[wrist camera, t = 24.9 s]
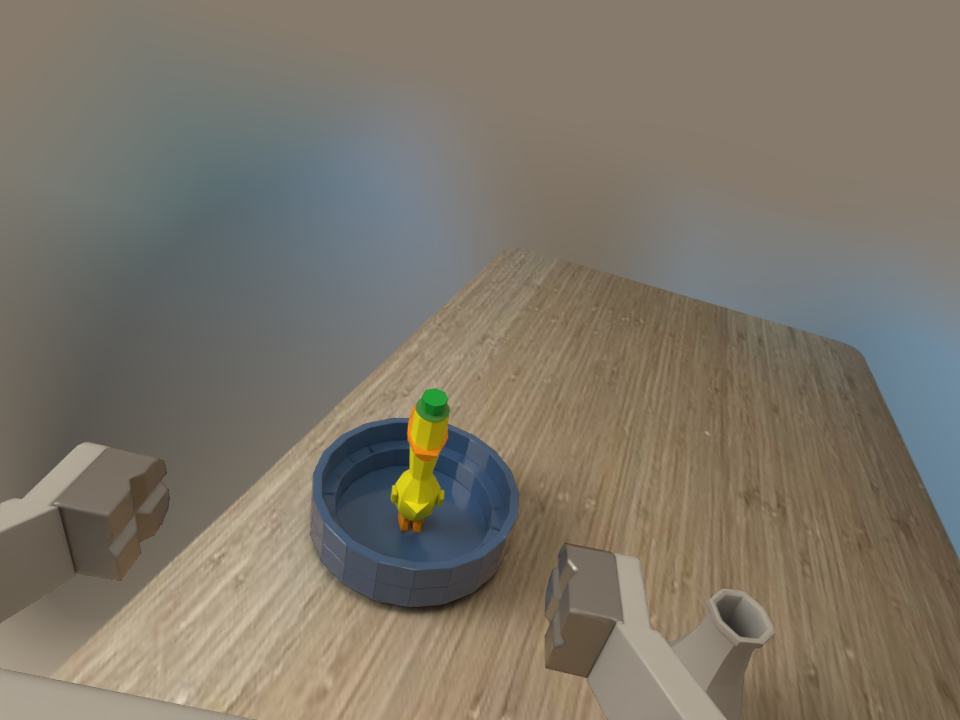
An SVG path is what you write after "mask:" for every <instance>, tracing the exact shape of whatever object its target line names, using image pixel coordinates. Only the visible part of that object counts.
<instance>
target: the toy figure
mask: <svg viewBox="0 0 960 720" xmlns="http://www.w3.org/2000/svg"><path fill="white" fill-rule="evenodd" d="M447 400H448V398H447V396H446V394H445V392H443V391H441V390H438V389H436V388H435V389H428V390H426V391H425V392H424V394H423V395H422V399H420V400H419V401H418V402H417V403H416V405H415V406H414V408H413V409H412V412H411V415H410V419H409V422H408V432H407V436H408V442H409V444H410V469H409V470H407V471H405V472H403V474H402V475H401V476H400V478H399V479H398V481H397V482H396V485H392V492H391V501H392V503H394V502H395V504H396V506H397V509H398V511H399V514H398V522H399V526H400V531H408V527H409V523H410V520H411V521H412V528H413V532H416V533H420V531H421V529H422V526H423V523H424V518H425V517H427V516H429V515H431V513H432V511H433V510H434V508H435V506H436V505H437V504H438V506H439V508H440V507H442V504H443V501H444V490H440V489H441V487H440V485H439V483H438V482H437V480H436V478H435V476H434V475H433V470H434V467H435V465H436V462H437V459H438V457H439V454H440V452H441V450H442V449H443V447H444V446H445V444H446V442H447V439H448V426H447V424H448V419H449V412H450V408H449V406H448V404H447Z"/></svg>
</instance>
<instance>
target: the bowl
mask: <svg viewBox="0 0 960 720" xmlns="http://www.w3.org/2000/svg"><path fill="white" fill-rule="evenodd" d="M409 419H410V418H390V419H385V420H380V421H375V422H370V423H366V424H363V425H361V426H359V427H357V428H355V429H353V430H351V431H349V432H347V433H345V434H343V435H341V436H340V437H339V438H338V439H337V440H336V441H335V442H333V443H332V444H331V445H330V446H329V447H328V448H327V449H326V450H325V451H324V452H323V454H322V456H321V458H320V460H319V462H318V464H317V466H316V468H315V470H314V473H313V482H312V499H311V530H310V535H311V538H312V540H313V543H314V545H315V548H316V550H317V552H318V555H319V557H320V560H321V561H322V563H323V564H324V565H325V566H326V567H327V568H328V569H329V570H330V571H331V572H332V573H333V574H334V575H335V576H336V577H337V578H338V580H339V581H340V582H341V583H342V584H344V585H345V586H347V587H349V588H351V589H353V590H355V591H357V592H358V593H360V594H362V595H364V596H366V597H368V598H370V599H372V600H373V599H374V600H375V601H380V602H385V603H390V604H394V605H399V606H404V607H420V606H432V605H443V604H446V603H449V602H451V601H454V600H456V599H459V598H461V597H464V596H466V595H469V594H471V593H473V592H474V591H476V590H477V589H478V588H479V587H480V586H481V585H482V584H484V583H485V582H486V581H487V580H488V579H489V578H491V577H492V576H493V575H494V574H495V573H496V571H497V569H498V567H499V565H500V563H501V561H502V559H503V557H504V555H505V553H506V551H507V548H508V545H509V542H510V538H511V535H512V532H513V529H514V526H515V523H516V520H517V517H518V501H519V492H518V489H517V486H516V484H515V481H514V478H513V475H512V472H511V470H510V469H509V468H508V466H507V465H506V464H505V462H504V461H503V460H502V459H501V457H500V456H499V455H498V454H497V452H496V451H495V450H493V449H492V448H491V447H489V446H488V445H487V444H485V443H484V442H483V441H481V440H480V439H478V438H477V437H476V436H474V435H472V434H470V433H468V432H466V431H463V430H461V429H459V428H456V427H454V426H452V425H450V424H447V426H448V439H447V442H446V444H445V446H444V447H443V449H442V450H441V452H440V454H439V457H438V459H437V462H436V465H435V467H434V470H433V475H434V476H435V478H436V480H437V482H438V483H439V485H440V487H441V489H440V490H444V501H443V504H442V507H440V508H439V506H438V504H437V505H436V506H435V508H434V510H433V511H432V513H431V515H429V516H427V517H425V518H424V523H423V526H422V529H421V531H420V533H416V532H413V528H412V521H411V520H410V523H409V527H408V531H400V526H399V522H398V514H399V511H398V509H397V506H396V504H395V502H394V503H392V501H391V492H392V485H396V482H397V481H398V479H399V478H400V476H401V475H402V474H403V472H405V471H407V470H409V469H410V444H409V442H408V436H407V432H408V422H409Z"/></svg>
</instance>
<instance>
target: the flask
mask: <svg viewBox="0 0 960 720" xmlns="http://www.w3.org/2000/svg"><path fill="white" fill-rule="evenodd" d="M707 607H708V610H709V612H708V614H707V616H706V617H705V619H704V620H703V621H702V623H701V624H700V626H699V627H697V628H696V629H695V630H694V631H692V632H690V633H688V634H686V635H684V636H682V637H680V638H678V639H677V640H675V641H673V642H671V643H669V645H670V646H671V648H672V649H673V650H674V651H675V653H676V654H677V655H678V657H679V658H680V659H681V661H682V662H683V663H684V664H685V666H686V667H687V668H688V670H689V671H690V672H691V673H692V675H693V676H694V677H695V679H696V680H697V681H698V683H699V684H700V685H701V686H702V688H703V689H704V690H705V692H706V693H707V694H708V696H709V697H710V698H711V699H712V701H713V702H714V703H715V705H716V706H717V707H718V709H719V710H720V711H721V712H722V714H723V715H724V716H725V718H726V719H727V720H740V713H741V700H742V691H743V682H744V673H745V671H746V668H747V665H748V663H749V660H750V657H751V655H752V652H753V650H754V649H755V648H760V647H762V646H763V645H764V644H765V643H766V642H767V641H768V640H769V639H770V638H771V637H772V636H773V635H774V633H775V632H776V631H775V629H774V627H773V624H772V622H771V620H770V618H769V616H768V614H767V612H766V610H765V608H763V607H762V606H761V605H760V604H759V603H758V602H756V601H755V600H754V599H753V598H752V597H751V596H749V595H748V594H747V593H746V592H745V591H740V590H730V589H721V590H720V591H719V592H718V593H717V594H715V595H714V596H713V597H712V598H711V599H709V601H708V602H707Z"/></svg>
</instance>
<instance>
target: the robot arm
mask: <svg viewBox="0 0 960 720" xmlns="http://www.w3.org/2000/svg"><path fill="white" fill-rule="evenodd" d="M166 473H167V471H166V465H165V461H164V460H162V459H159V458H155V457H150V456H146V455H142V454H138V453H133V452H129V451H125V450H120V449H116V448H110V447H107V446H102V445H98V444H93V443H89V442H85V443H83V444H80V445H78V446H77V447H76V448H74V449H73V451H71V452H70V453H69V454H68V455H67V456H66V457H65V458H64V459H63V460H62V461H61V462H60V463H59V464H58V465H57V466H56V467H55V468H54V469H53V470H52V471H51V472H50V473H49V474H48V475H47V476H46V477H45V478H43V480H41V481H40V482H39V483H38V484H37V485H36V486H35V487H34V488H33V489H32V490H31V491H30V492H29V493H28V494H27V495H26V496H25V497H24V498H23V499H15V498H13V499H11V500H8V501H6V502H3V503H0V623H1V622H3V621H5V620H6V619H8V618H9V617H11V616H13V615H14V614H16V613H17V612H19V611H20V610H22V609H24V608H25V607H27V606H29V605H30V604H32V603H34V602H35V601H37V600H38V599H40V598H42V597H43V596H45V595H46V594H48V593H50V592H51V591H53V590H54V589H56V588H58V587H59V586H61V585H62V584H64V583H66V582H67V581H69V580H70V579H72V578H74V577H75V576H76V573H77V574H82V575H88V576H93V577H100V578H105V579H111V580H116V581H122V579H123V578H124V577H125V575H126V574H127V572H128V571H129V570H130V568H131V567H132V566H133V564H134V562H135V561H136V560H137V559H138V557H139V556H140V555H141V547H140V542H142V541H144V540H146V539H148V538H150V537H152V536H154V535H155V533H156V532H157V531H158V529H159V528H160V526H161V525H162V523H163V521H164V518H165V516H166V513H167V511H168V507H169V500H170V496H169V489H168V488H167V487H166V486H165V485H164V483H163V482H162V481H161V480H162V479H163V477H164V476H165V475H166ZM558 558H559V566H558V567H556V568H554V569H553V570H552V573H551V576H550V578H549V582H548V587H547V591H546V600H545V617H546V618H547V620H548V621H549V623H550V625H549V628H548V630H547V632H546V635H545V668H547V669H551V670H555V671H560V672H564V673H568V674H572V675H577V676H581V677H585V678H587V682H588V684H589V686H590V688H591V690H592V691H593V693H594V695H595V697H596V699H597V701H598V703H599V705H600V707H601V709H602V711H603V713H604V714H605V716H606V718H607V720H727V719H726V718H725V716H724V715H723V714H722V712H721V711H720V710H719V709H718V707H717V706H716V705H715V703H714V702H713V701H712V699H711V698H710V697H709V696H708V694H707V693H706V692H705V690H704V689H703V688H702V686H701V685H700V684H699V683H698V681H697V680H696V679H695V677H694V676H693V675H692V673H691V672H690V671H689V670H688V668H687V667H686V666H685V664H684V663H683V662H682V661H681V659H680V658H679V657H678V655H677V654H676V653H675V651H674V650H673V649H672V648H671V646H670V645H669V644H668V642H667V641H666V640H665V638H664V637H663V636H662V635H661V633H660V632H659V631H655V630H652V627H651V621H650V615H649V609H648V604H647V598H646V592H645V586H644V580H643V574H642V568H641V563H640V561H639V559H638V558H637V557H633V556H628V555H623V554H618V553H612V552H609V551H604V550H599V549H594V548H589V547H584V546H579V545H573V544H568V543H564V545H563V546H562V548H561V550H560V552H559V555H558ZM0 720H255V719H250V718H245V717H240V716H235V715H230V714H225V713H220V712H215V711H210V710H205V709H200V708H195V707H190V706H185V705H180V704H175V703H170V702H165V701H160V700H155V699H150V698H145V697H140V696H135V695H130V694H125V693H120V692H115V691H110V690H105V689H100V688H95V687H90V686H85V685H80V684H75V683H70V682H66V681H61V680H56V679H51V678H46V677H41V676H35V675H31V674H26V673H21V672H16V671H11V670H6V669H0Z"/></svg>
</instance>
